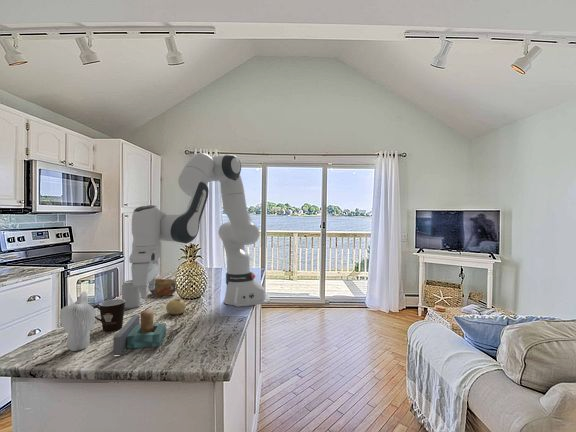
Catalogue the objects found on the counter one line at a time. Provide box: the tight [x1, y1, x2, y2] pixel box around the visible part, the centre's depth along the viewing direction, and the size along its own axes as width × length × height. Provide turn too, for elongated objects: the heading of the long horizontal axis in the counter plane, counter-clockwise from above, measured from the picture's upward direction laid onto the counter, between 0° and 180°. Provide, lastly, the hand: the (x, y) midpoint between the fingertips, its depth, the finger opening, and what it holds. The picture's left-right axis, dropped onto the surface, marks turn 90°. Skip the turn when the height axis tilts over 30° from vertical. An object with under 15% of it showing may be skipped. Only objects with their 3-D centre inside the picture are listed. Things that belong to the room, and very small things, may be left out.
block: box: [126, 322, 167, 349], centre depth 106 cm, size 10×10×4 cm
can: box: [121, 279, 141, 310], centre depth 143 cm, size 8×8×12 cm
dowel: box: [140, 310, 155, 333], centre depth 106 cm, size 4×4×10 cm
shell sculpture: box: [59, 290, 97, 352], centre depth 101 cm, size 8×8×18 cm
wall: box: [112, 314, 140, 356], centre depth 105 cm, size 2×20×6 cm, turn 10°
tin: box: [149, 278, 177, 296], centre depth 164 cm, size 15×3×8 cm, turn 77°
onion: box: [165, 297, 187, 316], centre depth 135 cm, size 8×8×7 cm
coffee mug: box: [93, 298, 125, 333], centre depth 118 cm, size 12×9×10 cm
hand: (148, 293), depth 106 cm, fingers open, 8 cm apart
